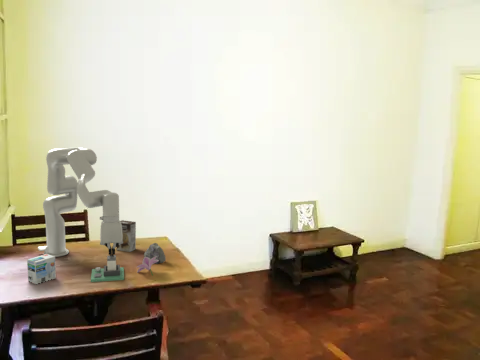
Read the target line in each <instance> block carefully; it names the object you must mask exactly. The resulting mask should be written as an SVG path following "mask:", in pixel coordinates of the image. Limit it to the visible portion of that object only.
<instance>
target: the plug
mask: <svg viewBox="0 0 480 360" xmlns="http://www.w3.org/2000/svg"><path fill="white" fill-rule="evenodd" d="M106 257H107V259H106V260H107V261H106V262H107V263H106V264H107V271H113V270H116V265H117V255H116V254H114V257H110V255H107V256H106Z"/></svg>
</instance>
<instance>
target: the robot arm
mask: <svg viewBox="0 0 480 360" xmlns="http://www.w3.org/2000/svg"><path fill="white" fill-rule="evenodd" d="M45 158H46V159H45V160H46V165H47V182H46V183H47V184H46V186H47V187H46V189H47V192H48V194H49V195H52V196H49V197H47V198H45V199H44V200H43V202H42V209H43V212H44V219H45V236H46V245H44V246H38V247H37V250H38V251H40V252H43V255H44V254H49V255H52V256H55V258H59V257H63V256H66V255H68V254H69V252H70V251H69V249H68V248H66V226H65V224H66V223H65V219H64V218H63V217H62V215H61V214H63V213H68V212H69V213H70V212H73V211H74V210H76V208H77V204H78V198H79V199H80V200H81V202H82V204H83V205H84V206H85V207H86V208H89V209H94V208H99V207H102V216H99V220H101V222H100V234H99V235H100V237H99V239H100V242H99V245H101V246H105V247H106V248H107V249H108V256H110V257H114V255H116V249H117V246H118V245H120V244H123V240H122V239H123V235H122V224H121V220H120V195H119V194H118V193H117V192H112V191H110V190H109V189H102V190H94V191H89V189H88V187H87V185H86V184H87V183H89V182H91V180H93V179H94V178H95V176H96V171H95V169H94V168H93V167H92V166H94V165H95V164H96V163H97V159H98V157H97V154H96V153H95V151H94V150H92V149H91V148H85V147H84V148H83V147H62V148H53V149H50V150H49V151H48V152H47V154H46V156H45ZM66 165H70V167H71V170H72V171H73V172H74V174H75V175H76V177H77V178H76V177H75V176H73V175H66V168H65V166H66ZM77 179H78V180H77ZM111 244H112V246H111Z"/></svg>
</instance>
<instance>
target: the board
mask: <svg viewBox="0 0 480 360" xmlns="http://www.w3.org/2000/svg"><path fill="white" fill-rule="evenodd" d="M124 269H125V267H122V266H121V264H116V270H113V271H107V265H103V267H100V266H99V267H95V268H92V269H91V274H90V275H91V276H90V283H94V282H95V283H97V282H99V283H100V282H111V281H124V280H125V272H124Z"/></svg>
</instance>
